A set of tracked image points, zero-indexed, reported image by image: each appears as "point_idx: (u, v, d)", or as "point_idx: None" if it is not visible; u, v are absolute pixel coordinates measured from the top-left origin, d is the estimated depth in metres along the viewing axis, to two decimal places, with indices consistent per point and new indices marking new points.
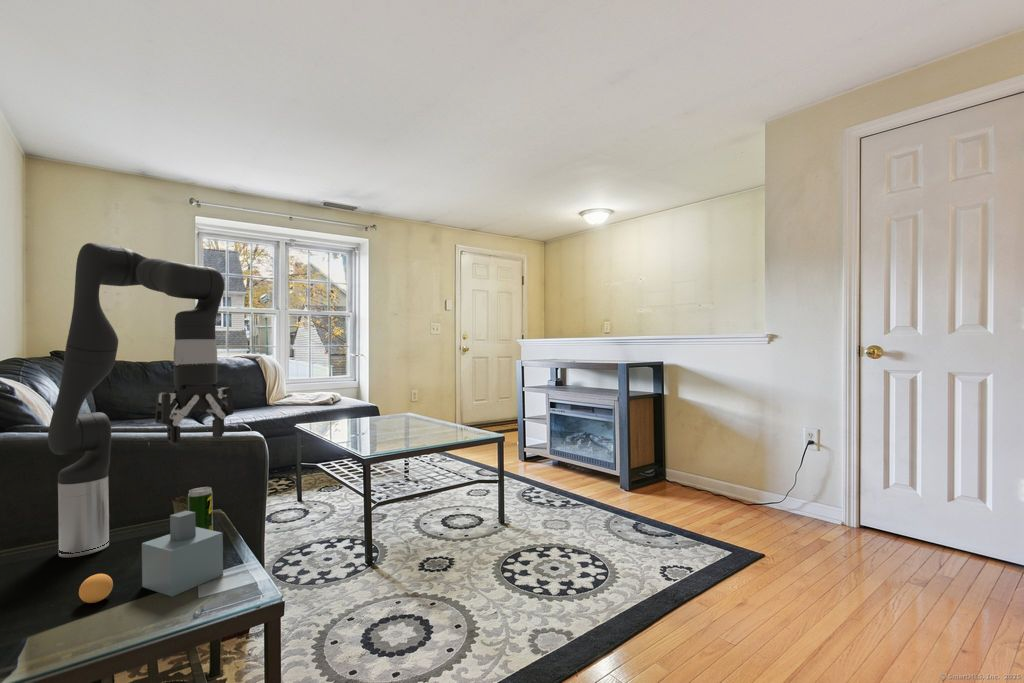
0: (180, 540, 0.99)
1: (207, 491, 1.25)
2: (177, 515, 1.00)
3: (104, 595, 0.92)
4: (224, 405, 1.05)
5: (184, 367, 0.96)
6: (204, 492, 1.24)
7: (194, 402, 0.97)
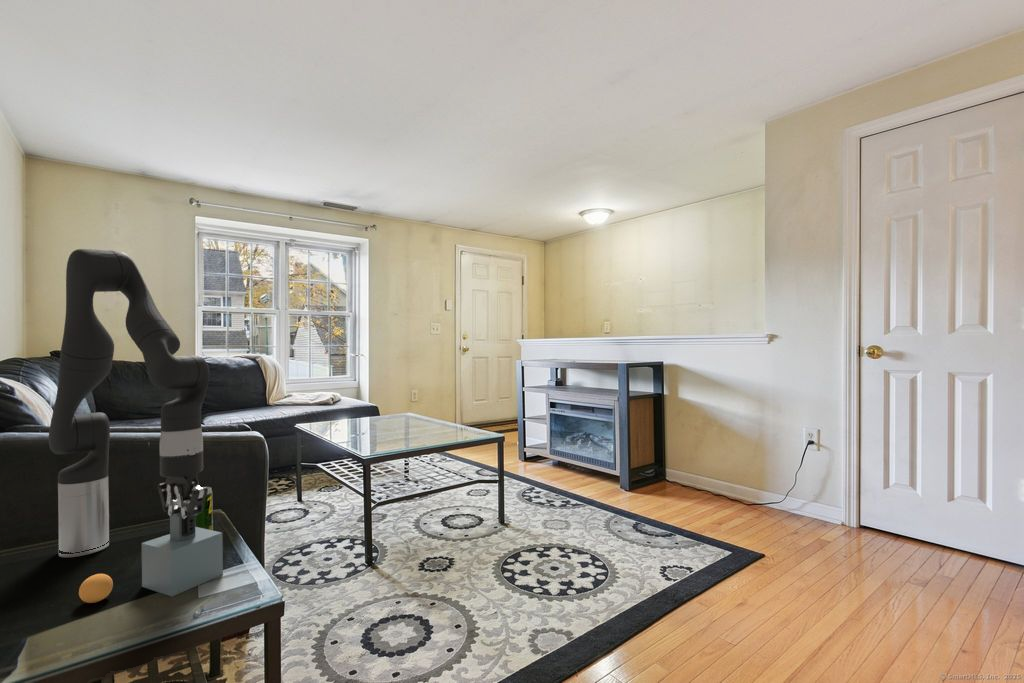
0: (180, 540, 0.99)
1: None
2: (177, 515, 1.00)
3: (104, 595, 0.92)
4: None
5: (200, 455, 1.01)
6: None
7: None
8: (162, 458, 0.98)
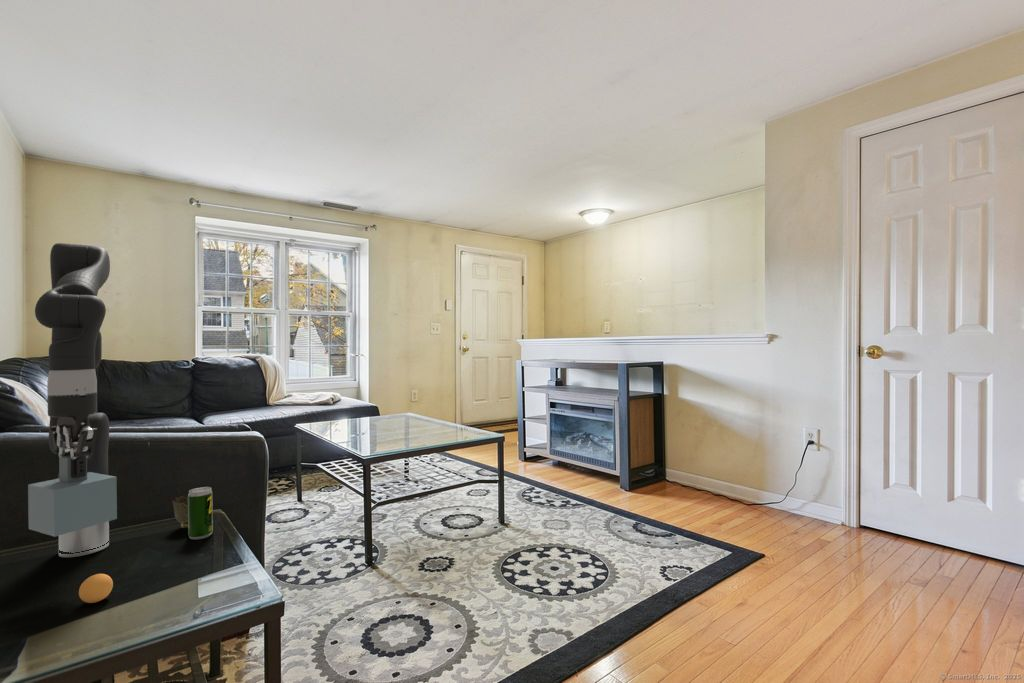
0: (68, 482, 0.97)
1: (207, 491, 1.25)
2: (67, 457, 0.98)
3: (104, 595, 0.92)
4: None
5: (92, 396, 0.99)
6: (204, 492, 1.24)
7: None
8: (49, 397, 0.95)
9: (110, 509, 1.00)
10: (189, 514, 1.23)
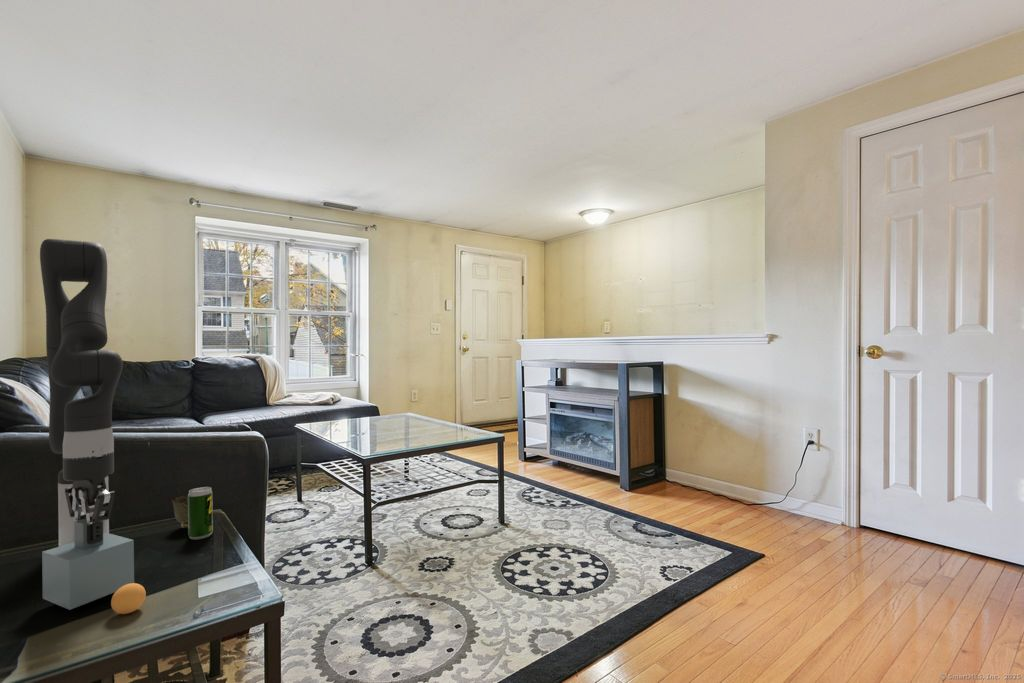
0: (84, 548, 0.92)
1: (207, 491, 1.25)
2: (82, 521, 0.93)
3: (130, 584, 0.89)
4: None
5: (108, 456, 0.94)
6: (204, 492, 1.24)
7: None
8: (64, 460, 0.91)
9: (127, 575, 0.95)
10: (189, 514, 1.23)
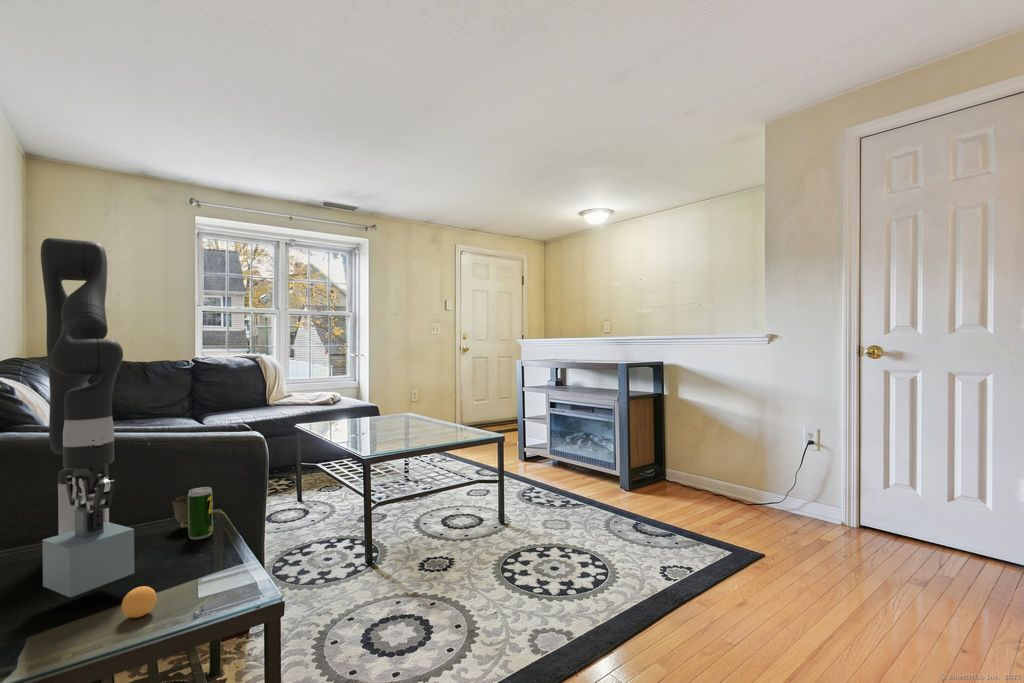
0: (84, 536, 0.92)
1: (207, 491, 1.25)
2: (82, 510, 0.93)
3: (149, 599, 0.87)
4: None
5: (109, 445, 0.94)
6: (204, 492, 1.24)
7: None
8: (65, 449, 0.91)
9: (127, 563, 0.95)
10: (189, 514, 1.23)
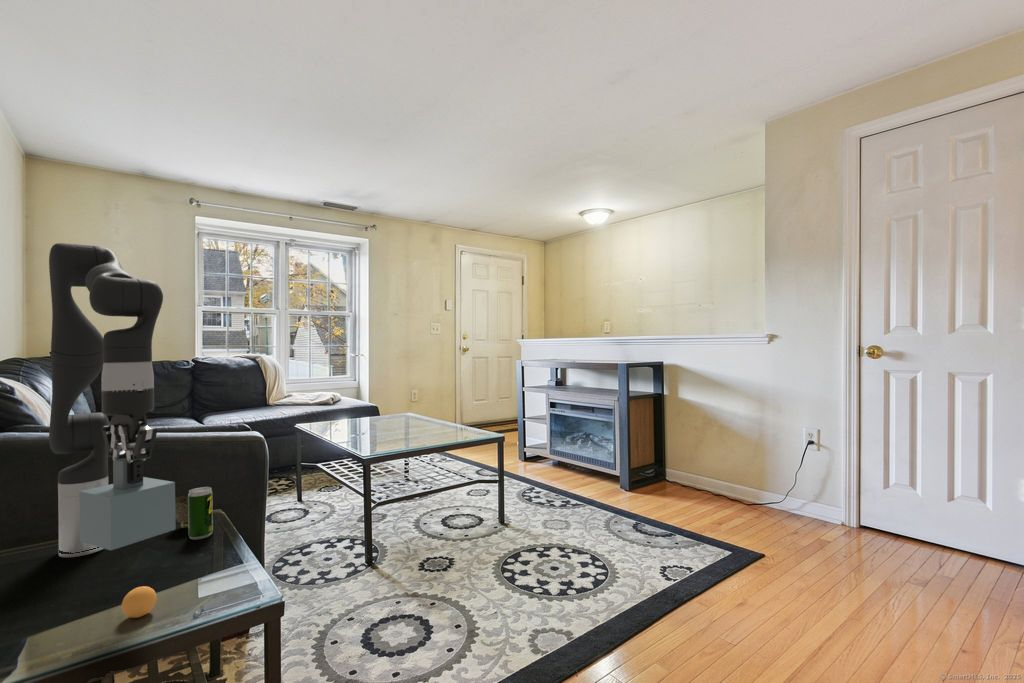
0: (124, 488, 0.86)
1: (207, 491, 1.25)
2: (121, 460, 0.87)
3: (149, 599, 0.87)
4: None
5: (149, 392, 0.89)
6: (204, 492, 1.24)
7: None
8: (104, 393, 0.85)
9: (168, 518, 0.89)
10: (189, 514, 1.23)
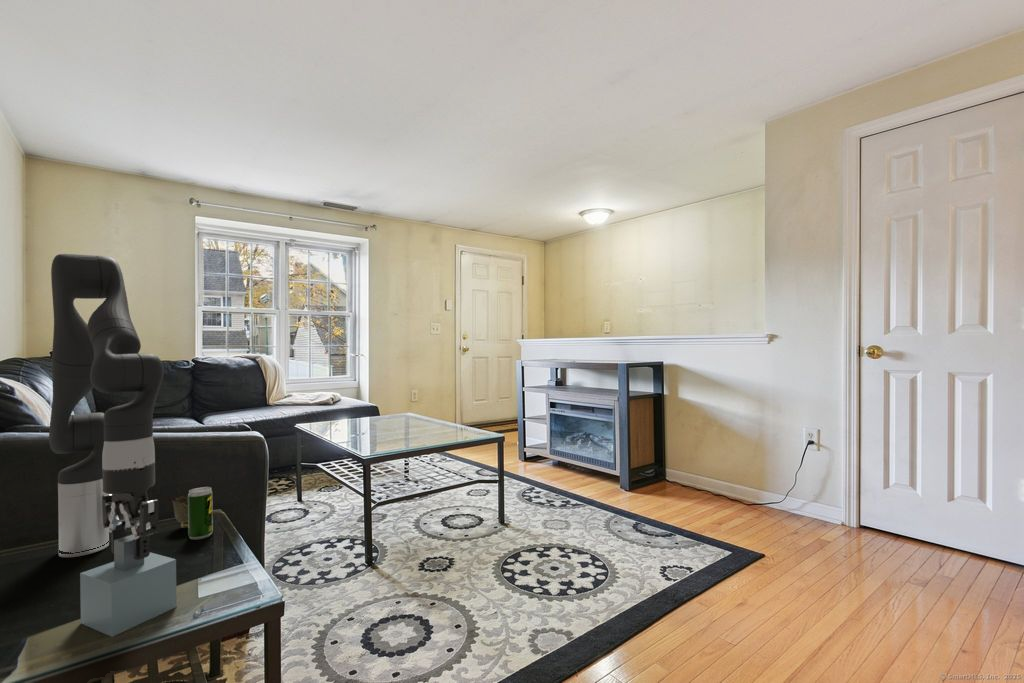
0: (125, 569, 0.86)
1: (207, 491, 1.25)
2: (122, 540, 0.87)
3: None
4: None
5: (150, 467, 0.88)
6: (204, 492, 1.24)
7: None
8: (104, 472, 0.85)
9: (169, 597, 0.89)
10: (189, 514, 1.23)
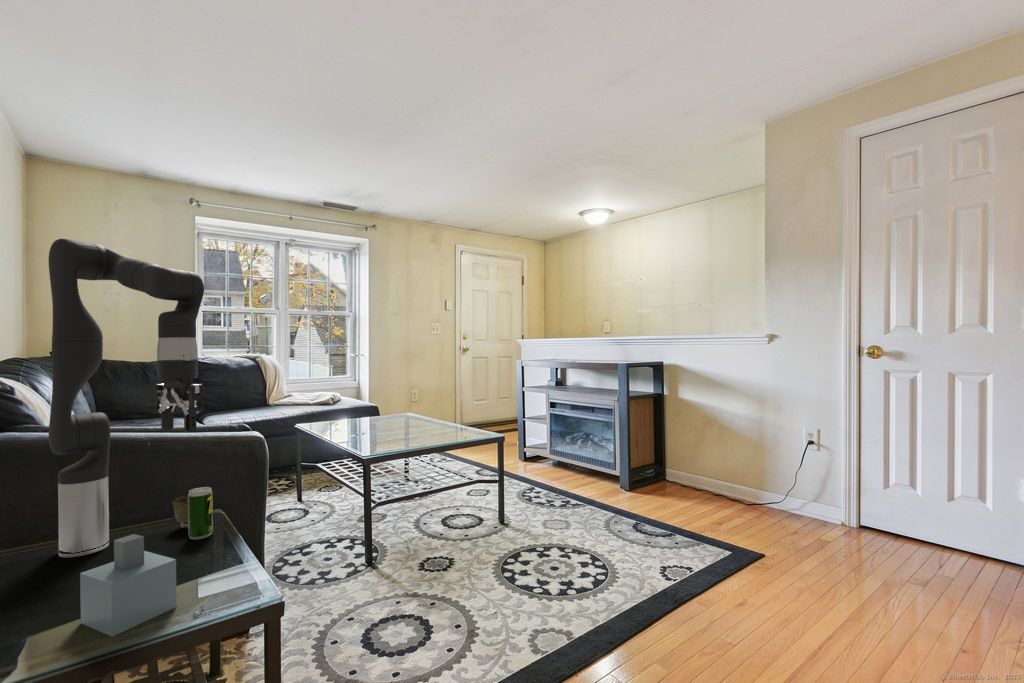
0: (125, 569, 0.86)
1: (207, 491, 1.25)
2: (122, 540, 0.87)
3: None
4: None
5: (194, 362, 1.09)
6: (204, 492, 1.24)
7: None
8: (159, 362, 1.05)
9: (169, 597, 0.89)
10: (189, 514, 1.23)
